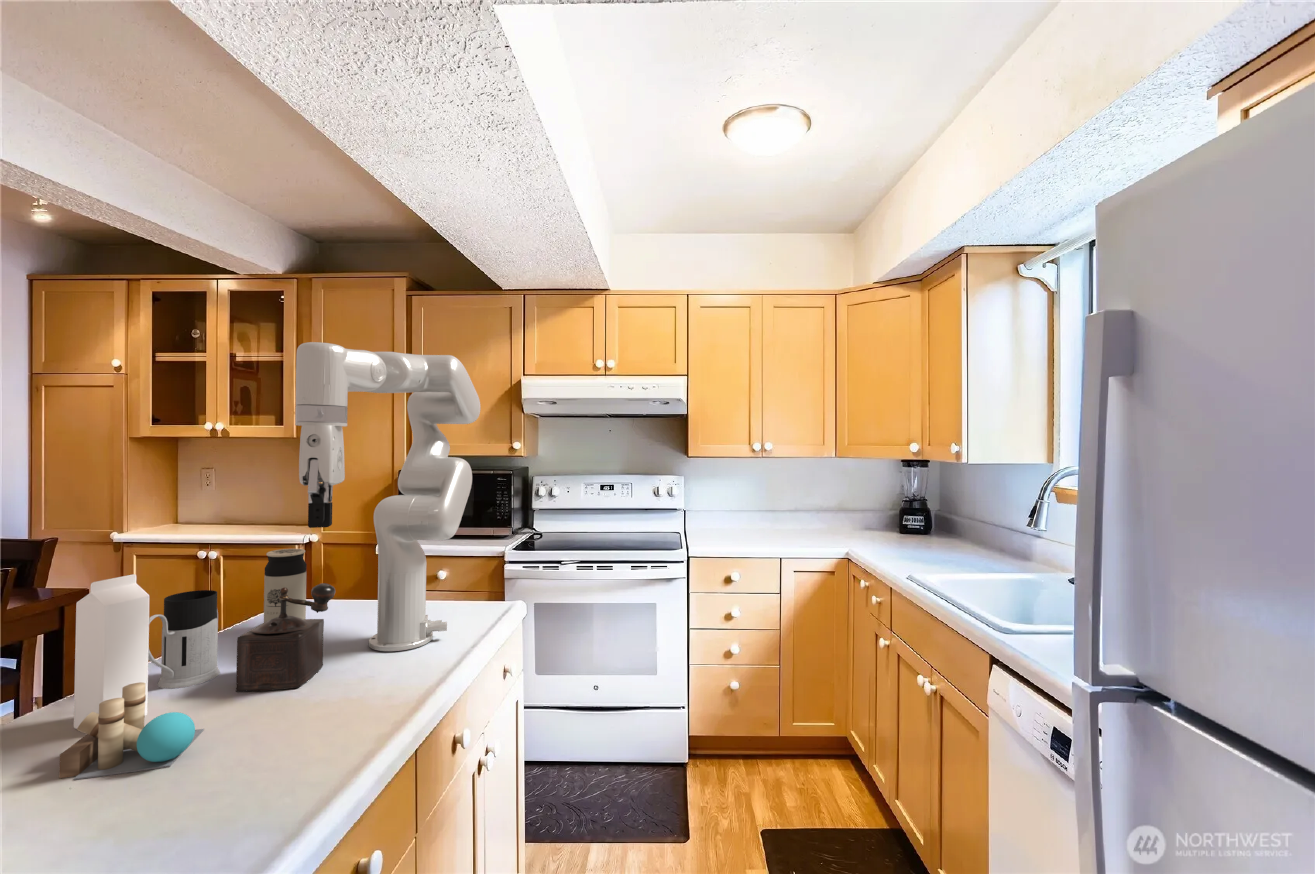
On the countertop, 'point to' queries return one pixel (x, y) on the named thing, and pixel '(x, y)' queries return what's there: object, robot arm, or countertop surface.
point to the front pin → (92, 729)
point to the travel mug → (285, 582)
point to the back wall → (78, 756)
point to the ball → (165, 737)
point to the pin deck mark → (129, 764)
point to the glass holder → (188, 639)
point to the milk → (110, 643)
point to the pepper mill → (283, 647)
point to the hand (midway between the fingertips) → (320, 526)
